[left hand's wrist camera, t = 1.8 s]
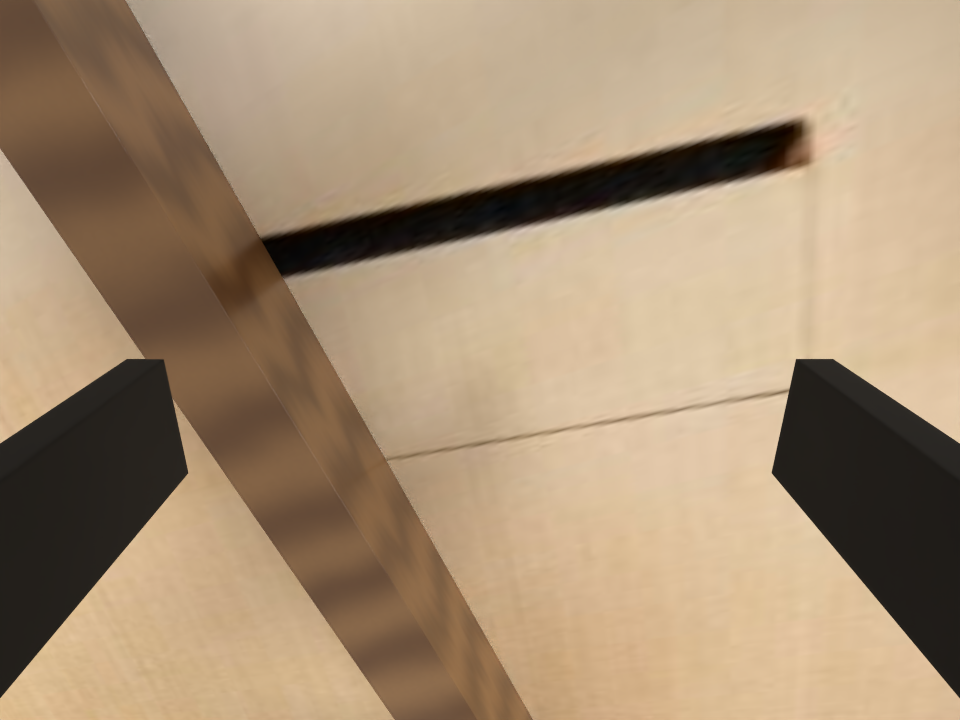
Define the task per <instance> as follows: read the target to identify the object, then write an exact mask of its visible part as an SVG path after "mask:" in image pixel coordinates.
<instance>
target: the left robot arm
mask: <svg viewBox="0 0 960 720" xmlns="http://www.w3.org/2000/svg"><path fill="white" fill-rule="evenodd" d="M187 474H188V469H187V465H186V460H185V455H184V451H183V446H182V441H181V437H180V432H179V427H178V423H177V418H176V413H175V409H174V404H173V399H172V395H171V390H170V385H169V381H168V376H167V371H166V367H165V362H164V359H126V360H125V361H123V362H122V363H120V364H119V365H117V366H116V367H114V368H113V369H111V370H110V371H108V372H107V373H105V374H104V375H102V376H101V377H99V378H98V379H96V380H95V381H93V382H92V383H90V384H89V385H87V386H86V387H84V388H83V389H81V390H80V391H78V392H77V393H75V394H74V395H72V396H71V397H69V398H68V399H66V400H65V401H63V402H62V403H60V404H59V405H57V406H56V407H54V408H53V409H51V410H50V411H48V412H47V413H45V414H44V415H42V416H41V417H39V418H38V419H36V420H35V421H33V422H32V423H30V424H29V425H27V426H26V427H24V428H23V429H21V430H20V431H18V432H17V433H15V434H14V435H12V436H11V437H9V438H8V439H6V440H5V441H3V442H2V443H0V698H1V697H2V695H3V694H4V693H5V692H6V691H7V689H8V688H9V687H10V686H11V685H12V683H13V682H14V681H15V680H16V679H17V677H18V676H19V675H20V674H21V673H22V671H23V670H24V669H25V668H26V667H27V665H28V664H29V663H30V662H31V661H32V659H33V658H34V657H35V656H36V655H37V653H38V652H39V651H40V650H41V649H42V648H43V646H44V645H45V644H46V643H47V642H48V640H49V639H50V638H51V637H52V636H53V634H54V633H55V632H56V631H57V630H58V628H59V627H60V626H61V625H62V624H63V622H64V621H65V620H66V619H67V618H68V616H69V615H70V614H71V613H72V612H73V610H74V609H75V608H76V607H77V606H78V604H79V603H80V602H81V601H82V600H83V598H84V597H85V596H86V595H87V594H88V592H89V591H90V590H91V589H92V588H93V586H94V585H95V584H96V583H97V582H98V580H99V579H100V578H101V577H102V576H103V574H104V573H105V572H106V571H107V570H108V569H109V567H110V566H111V565H112V564H113V563H114V561H115V560H116V559H117V558H118V557H119V555H120V554H121V553H122V552H123V551H124V549H125V548H126V547H127V546H128V545H129V543H130V542H131V541H132V540H133V539H134V537H135V536H136V535H137V534H138V533H139V531H140V530H141V529H142V528H143V527H144V525H145V524H146V523H147V522H148V521H149V519H150V518H151V517H152V516H153V515H154V513H155V512H156V511H157V510H158V509H159V507H160V506H161V505H162V504H163V503H164V501H165V500H166V499H167V498H168V497H169V496H170V494H171V493H172V492H173V491H174V490H175V488H176V487H177V486H178V485H179V484H180V482H181V481H182V480H183V479H184V478H185V476H186V475H187ZM772 474H773V475H774V476H775V478H776V479H777V480H778V481H779V482H780V484H781V485H782V486H783V487H784V488H785V490H786V491H787V492H788V493H789V494H790V496H791V497H792V498H793V499H794V500H795V501H796V503H797V504H798V505H799V506H800V507H801V509H802V510H803V511H804V512H805V513H806V515H807V516H808V517H809V518H810V519H811V521H812V522H813V523H814V524H815V525H816V527H817V528H818V529H819V530H820V531H821V533H822V534H823V535H824V536H825V537H826V539H827V540H828V541H829V542H830V543H831V545H832V546H833V547H834V548H835V549H836V551H837V552H838V553H839V554H840V555H841V557H842V558H843V559H844V560H845V561H846V563H847V564H848V565H849V566H850V567H851V569H852V570H853V571H854V572H855V573H856V575H857V576H858V577H859V578H860V579H861V580H862V582H863V583H864V584H865V585H866V586H867V588H868V589H869V590H870V591H871V592H872V594H873V595H874V596H875V597H876V598H877V600H878V601H879V602H880V603H881V604H882V606H883V607H884V608H885V609H886V610H887V612H888V613H889V614H890V615H891V616H892V618H893V619H894V620H895V621H896V622H897V624H898V625H899V626H900V627H901V628H902V630H903V631H904V632H905V633H906V634H907V636H908V637H909V638H910V639H911V640H912V642H913V643H914V644H915V645H916V646H917V648H918V649H919V650H920V651H921V652H922V653H923V655H924V656H925V657H926V658H927V659H928V661H929V662H930V663H931V664H932V665H933V667H934V668H935V669H936V670H937V671H938V673H939V674H940V675H941V676H942V677H943V679H944V680H945V681H946V682H947V683H948V685H949V686H950V687H951V688H952V689H953V691H954V692H955V693H956V694H957V695H958V697H959V698H960V443H958V442H957V441H955V440H954V439H952V438H951V437H949V436H948V435H946V434H945V433H943V432H942V431H940V430H939V429H937V428H936V427H934V426H933V425H931V424H930V423H928V422H927V421H925V420H924V419H922V418H921V417H919V416H918V415H916V414H915V413H913V412H912V411H910V410H909V409H907V408H906V407H904V406H903V405H901V404H900V403H898V402H897V401H895V400H894V399H892V398H891V397H889V396H888V395H886V394H885V393H883V392H882V391H880V390H879V389H877V388H876V387H874V386H873V385H871V384H870V383H868V382H867V381H865V380H864V379H862V378H861V377H859V376H858V375H856V374H855V373H853V372H852V371H850V370H849V369H847V368H846V367H844V366H843V365H841V364H840V363H838V362H837V361H835V360H834V359H796V362H795V367H794V371H793V376H792V381H791V385H790V390H789V395H788V399H787V404H786V409H785V413H784V418H783V423H782V427H781V432H780V437H779V441H778V446H777V451H776V455H775V460H774V465H773V469H772Z"/></svg>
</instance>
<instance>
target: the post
mask: <svg viewBox="0 0 960 720" xmlns="http://www.w3.org/2000/svg"><path fill="white" fill-rule="evenodd" d="M0 149H1V150H2V152H3V153H4V154H5V156H6V157H7V159H8V160H9V162H10V163H11V165H12V166H13V167H14V169H15V170H16V172H17V173H18V175H19V176H20V178H21V179H22V181H23V182H24V183H25V185H26V186H27V188H28V189H29V191H30V192H31V194H32V195H33V196H34V198H35V199H36V201H37V202H38V204H39V205H40V207H41V208H42V209H43V211H44V212H45V214H46V215H47V217H48V218H49V220H50V221H51V223H52V224H53V225H54V227H55V228H56V230H57V231H58V233H59V234H60V236H61V237H62V238H63V240H64V241H65V243H66V244H67V246H68V247H69V249H70V250H71V251H72V253H73V254H74V256H75V257H76V259H77V260H78V262H79V263H80V265H81V266H82V267H83V269H84V270H85V272H86V273H87V275H88V276H89V278H90V279H91V280H92V282H93V283H94V285H95V286H96V288H97V289H98V291H99V292H100V293H101V295H102V296H103V298H104V299H105V301H106V302H107V304H108V305H109V307H110V308H111V309H112V311H113V312H114V314H115V315H116V317H117V318H118V320H119V321H120V322H121V324H122V325H123V327H124V328H125V330H126V331H127V333H128V334H129V335H130V337H131V338H132V340H133V341H134V343H135V344H136V346H137V347H138V349H139V350H140V351H141V353H142V354H143V356H144V357H145V359H164V362H165V367H166V371H167V376H168V381H169V385H170V390H171V395H172V398H173V399H174V401H175V402H176V404H177V405H178V406H179V408H180V409H181V411H182V412H183V414H184V415H185V417H186V418H187V419H188V421H189V422H190V424H191V425H192V427H193V428H194V430H195V431H196V432H197V434H198V435H199V437H200V438H201V440H202V441H203V443H204V444H205V446H206V447H207V448H208V450H209V451H210V453H211V454H212V456H213V457H214V459H215V460H216V461H217V463H218V464H219V466H220V467H221V469H222V470H223V472H224V473H225V474H226V476H227V477H228V479H229V480H230V482H231V483H232V485H233V486H234V488H235V489H236V490H237V492H238V493H239V495H240V496H241V498H242V499H243V501H244V502H245V503H246V505H247V506H248V508H249V509H250V511H251V512H252V514H253V515H254V516H255V518H256V519H257V521H258V522H259V524H260V525H261V527H262V528H263V530H264V531H265V532H266V534H267V535H268V537H269V538H270V540H271V541H272V543H273V544H274V545H275V547H276V548H277V550H278V551H279V553H280V554H281V556H282V557H283V558H284V560H285V561H286V563H287V564H288V566H289V567H290V569H291V570H292V572H293V573H294V574H295V576H296V577H297V579H298V580H299V582H300V583H301V585H302V586H303V587H304V589H305V590H306V592H307V593H308V595H309V596H310V598H311V599H312V600H313V602H314V603H315V605H316V606H317V608H318V609H319V611H320V612H321V614H322V615H323V616H324V618H325V619H326V621H327V622H328V624H329V625H330V627H331V628H332V629H333V631H334V632H335V634H336V635H337V637H338V638H339V640H340V641H341V642H342V644H343V645H344V647H345V648H346V650H347V651H348V653H349V654H350V656H351V657H352V658H353V660H354V661H355V663H356V664H357V666H358V667H359V669H360V670H361V671H362V673H363V674H364V676H365V677H366V679H367V680H368V682H369V683H370V684H371V686H372V687H373V689H374V690H375V692H376V693H377V695H378V696H379V698H380V699H381V700H382V702H383V703H384V705H385V706H386V708H387V709H388V711H389V712H390V713H391V715H392V716H393V718H394V719H395V720H532V718H531V716H530V714H529V713H528V711H527V709H526V707H525V705H524V704H523V702H522V700H521V698H520V697H519V695H518V693H517V691H516V690H515V688H514V686H513V684H512V682H511V681H510V679H509V677H508V675H507V674H506V672H505V670H504V668H503V667H502V665H501V663H500V661H499V660H498V658H497V656H496V654H495V652H494V651H493V649H492V647H491V645H490V644H489V642H488V640H487V638H486V637H485V635H484V633H483V631H482V630H481V628H480V626H479V624H478V622H477V621H476V619H475V617H474V615H473V614H472V612H471V610H470V608H469V607H468V605H467V603H466V601H465V599H464V598H463V596H462V594H461V592H460V591H459V589H458V587H457V585H456V584H455V582H454V580H453V578H452V577H451V575H450V573H449V571H448V569H447V568H446V566H445V564H444V562H443V561H442V559H441V557H440V555H439V554H438V552H437V550H436V548H435V547H434V545H433V543H432V541H431V539H430V538H429V536H428V534H427V532H426V531H425V529H424V527H423V525H422V524H421V522H420V520H419V518H418V516H417V515H416V513H415V511H414V509H413V508H412V506H411V504H410V502H409V501H408V499H407V497H406V495H405V494H404V492H403V490H402V488H401V486H400V485H399V483H398V481H397V479H396V478H395V476H394V474H393V472H392V471H391V469H390V467H389V465H388V464H387V462H386V460H385V458H384V456H383V455H382V453H381V451H380V449H379V448H378V446H377V444H376V442H375V441H374V439H373V437H372V435H371V433H370V432H369V430H368V428H367V426H366V425H365V423H364V421H363V419H362V418H361V416H360V414H359V412H358V411H357V409H356V407H355V405H354V403H353V402H352V400H351V398H350V396H349V395H348V393H347V391H346V389H345V388H344V386H343V384H342V382H341V381H340V379H339V377H338V375H337V373H336V372H335V370H334V368H333V366H332V365H331V363H330V361H329V359H328V358H327V356H326V354H325V352H324V350H323V349H322V347H321V345H320V343H319V342H318V340H317V338H316V336H315V335H314V333H313V331H312V329H311V328H310V326H309V324H308V322H307V320H306V319H305V317H304V315H303V313H302V312H301V310H300V308H299V306H298V305H297V303H296V301H295V299H294V298H293V296H292V294H291V292H290V290H289V289H288V287H287V285H286V283H285V282H284V280H283V278H282V276H281V275H280V273H279V271H278V269H277V267H276V266H275V264H274V262H273V260H272V259H271V257H270V255H269V253H268V252H267V250H266V248H265V246H264V245H263V243H262V241H261V239H260V237H259V236H258V234H257V232H256V230H255V229H254V227H253V225H252V223H251V222H250V220H249V218H248V216H247V215H246V213H245V211H244V209H243V207H242V206H241V204H240V202H239V200H238V199H237V197H236V195H235V193H234V192H233V190H232V188H231V186H230V184H229V183H228V181H227V179H226V177H225V176H224V174H223V172H222V170H221V169H220V167H219V165H218V163H217V162H216V160H215V158H214V156H213V154H212V153H211V151H210V149H209V147H208V146H207V144H206V142H205V140H204V139H203V137H202V135H201V133H200V132H199V130H198V128H197V126H196V124H195V123H194V121H193V119H192V117H191V116H190V114H189V112H188V110H187V109H186V107H185V105H184V103H183V101H182V100H181V98H180V96H179V94H178V93H177V91H176V89H175V87H174V86H173V84H172V82H171V80H170V79H169V77H168V75H167V73H166V71H165V70H164V68H163V66H162V64H161V63H160V61H159V59H158V57H157V56H156V54H155V52H154V50H153V48H152V47H151V45H150V43H149V41H148V40H147V38H146V36H145V34H144V33H143V31H142V29H141V27H140V26H139V24H138V22H137V20H136V18H135V17H134V15H133V13H132V11H131V10H130V8H129V6H128V4H127V3H126V1H125V0H0Z"/></svg>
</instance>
